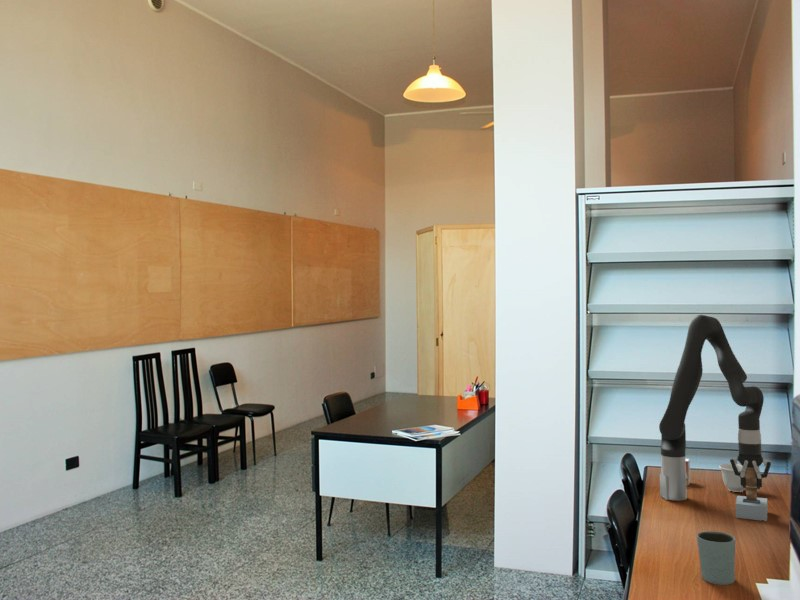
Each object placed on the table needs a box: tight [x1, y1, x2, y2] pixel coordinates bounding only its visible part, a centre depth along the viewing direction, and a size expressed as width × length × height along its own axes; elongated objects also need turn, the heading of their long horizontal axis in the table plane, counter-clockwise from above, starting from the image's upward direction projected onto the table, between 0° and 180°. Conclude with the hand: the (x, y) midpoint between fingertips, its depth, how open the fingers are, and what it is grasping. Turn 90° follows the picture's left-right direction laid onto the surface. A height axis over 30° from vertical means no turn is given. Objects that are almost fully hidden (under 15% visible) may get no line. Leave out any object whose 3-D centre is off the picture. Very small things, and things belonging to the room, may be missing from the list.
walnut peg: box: [744, 467, 759, 501], centre depth 255 cm, size 4×4×12 cm
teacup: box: [718, 463, 758, 493], centre depth 286 cm, size 12×15×10 cm
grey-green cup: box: [696, 530, 736, 586], centre depth 197 cm, size 10×10×12 cm
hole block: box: [735, 495, 769, 522], centre depth 255 cm, size 12×10×5 cm
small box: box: [685, 458, 691, 486], centre depth 302 cm, size 8×6×10 cm
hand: (751, 487), depth 255 cm, fingers closed on walnut peg, 4 cm apart
